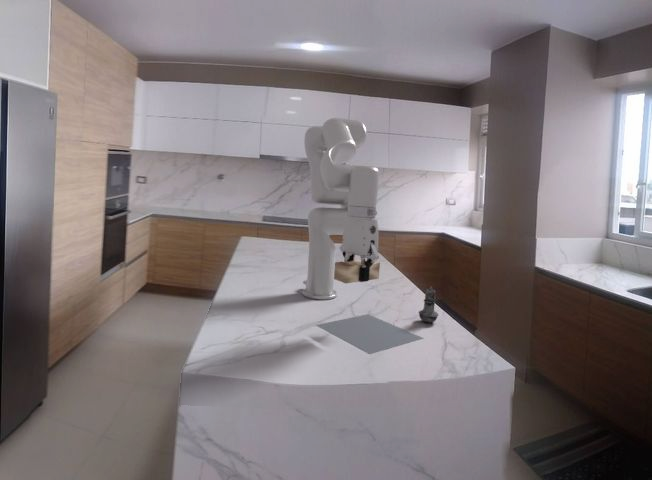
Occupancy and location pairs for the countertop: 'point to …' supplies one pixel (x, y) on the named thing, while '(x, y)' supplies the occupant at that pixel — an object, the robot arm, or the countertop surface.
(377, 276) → the beige brown block
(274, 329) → the countertop surface
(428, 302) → the grey chess piece
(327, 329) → the slate mat
